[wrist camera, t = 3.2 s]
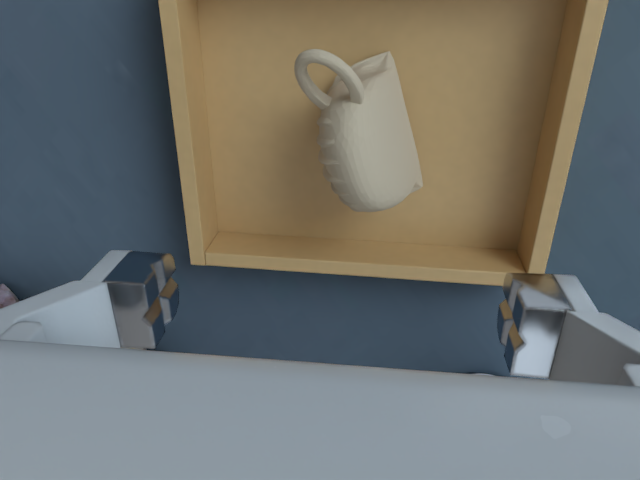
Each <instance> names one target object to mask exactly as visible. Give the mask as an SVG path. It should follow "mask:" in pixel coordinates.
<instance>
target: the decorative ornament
mask: <svg viewBox="0 0 640 480" xmlns="http://www.w3.org/2000/svg"><path fill="white" fill-rule="evenodd" d="M310 63H318V64H321V65H324V66H327V67H328V68H329V69H331V70H332V71H334V72H335V73H336V74H337V76H336V77H335V80H334V83H333V85H332V86H331V87H330V88H329V90H328V92H327V94H325V93H323V92H322V91H321V90H320V89H319V88H318V87H317V86H316V85H315V84H314V82H313V81H312V79H311V78H310V76H309V74H308V70H307V66H308V64H310ZM294 72H295V76H296V79H297V82H298V84H299V86H300V88H301V89H302V91H303V92H304V93H305V94H306V96H307V97H308V98H309V99H310V100H311V101H312V102H313V103H314V104H315V105H316V106H318V107H319V108H320V110H321V117H320V118H319V119H318V120H317V124H318V125H319V135H318V136H317V143H318V144H319V145H320V146H321V149H320V151H319V154H318V159H319V162H321V163H322V164H324V166H323V171H322V172H323V175H324V177H325V178H326V180H327V181H329V182H331V188H332V190H333V191H334V193H335V194H338V196H339V199H340V201H341V202H343V203H344V204H345V205H347V206H349V207H350V209H352V210H353V211H356V212H362V211H363V212H376V211H383V210H386V209H389V208H392V207H394V206H396V205H397V204H399V203H400V202H402V201H403V200H404V199H405V198H406V197H407V196H408V195H409V194H411V193H413V192H415V191H417V190H419V189H420V188H422V187H423V181H422V174H421V169H420V164H419V159H418V154H417V150H416V146H415V141H414V137H413V133H412V130H411V126H410V122H409V118H408V114H407V110H406V106H405V102H404V98H403V93H402V89H401V85H400V81H399V76H398V73H397V69H396V65H395V62H394V59H393V57H392V55H391V53H390V51H388V52H384V53H381V54H378V55H375V56H373V57H370V58H367V59H365V60H362V61H360V62H358V63H355V64H354V65H352V66H351V67H350V66H349V65H347V64H346V63H345V62H344V61H343V60H342V59H340V58H339V57H338V56H336V55H334V54H332V53H330V52H327V51H324V50H321V49H309V50H306V51H303V52H302V53H300V54H299V55H298V57H297V58H296V61H295V65H294Z"/></svg>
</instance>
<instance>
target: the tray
mask: <svg viewBox="0 0 640 480" xmlns="http://www.w3.org/2000/svg"><path fill="white" fill-rule="evenodd" d="M608 1H609V0H158V3H159V11H160V19H161V27H162V35H163V43H164V51H165V59H166V67H167V75H168V84H169V92H170V100H171V108H172V116H173V124H174V132H175V140H176V148H177V156H178V164H179V172H180V180H181V188H182V197H183V205H184V213H185V221H186V229H187V237H188V245H189V253H190V261H191V265H204V266H205V265H209V266H223V267H237V268H252V269H266V270H280V271H294V272H309V273H323V274H337V275H351V276H366V277H380V278H394V279H408V280H423V281H437V282H451V283H465V284H480V285H494V286H503V283H504V279H505V276H506V273H536V274H545V270H546V265H547V261H548V257H549V252H550V248H551V244H552V240H553V235H554V231H555V227H556V223H557V218H558V214H559V210H560V206H561V201H562V197H563V193H564V189H565V184H566V180H567V176H568V171H569V167H570V163H571V159H572V154H573V150H574V146H575V142H576V137H577V133H578V129H579V125H580V120H581V116H582V112H583V108H584V103H585V99H586V95H587V90H588V86H589V82H590V78H591V73H592V69H593V65H594V61H595V56H596V52H597V48H598V44H599V39H600V35H601V31H602V27H603V22H604V18H605V14H606V9H607V5H608ZM309 49H321V50H324V51H327V52H330V53H332V54H334V55H336V56H338V57H339V58H340V59H342V60H343V61H344V62H345V63H346V64H347V65H349V66H350V67H351V66H352V65H354V64H355V63H358V62H360V61H362V60H365V59H367V58H370V57H373V56H375V55H378V54H381V53H384V52H388V51H390V53H391V55H392V57H393V59H394V62H395V65H396V69H397V73H398V76H399V81H400V85H401V89H402V93H403V98H404V102H405V106H406V110H407V114H408V118H409V122H410V126H411V130H412V133H413V137H414V141H415V146H416V150H417V154H418V159H419V164H420V169H421V174H422V181H423V187H422V188H420V189H419V190H417V191H415V192H413V193H411V194H409V195H408V196H407V197H406V198H405V199H404V200H403V201H402V202H400V203H399V204H397V205H396V206H394V207H392V208H389V209H386V210H383V211H376V212H363V211H362V212H356V211H353V210H352V209H350V207H349V206H347V205H345V204H344V203H343V202H341V201H340V199H339V196H338V194H335V193H334V191H333V190H332V188H331V182H329V181H327V180H326V178H325V177H324V175H323V172H322V171H323V166H324V164H322V163H321V162H319V159H318V154H319V151H320V149H321V146H320V145H319V144H318V143H317V136H318V135H319V125H318V124H317V120H318V119H319V118H320V117H321V110H320V108H319V107H318V106H316V105H315V104H314V103H313V102H312V101H311V100H310V99H309V98H308V97H307V96H306V94H305V93H304V92H303V91H302V89H301V88H300V86H299V84H298V82H297V79H296V76H295V72H294V65H295V61H296V58H297V57H298V55H299V54H300V53H302V52H303V51H306V50H309ZM307 70H308V74H309V76H310V78H311V79H312V81H313V82H314V84H315V85H316V86H317V87H318V88H319V89H320V90H321V91H322V92H323V93H325V94H327V92H328V90H329V88H330V87H331V86H332V85H333V83H334V80H335V77H336V76H337V74H336V73H335V72H334V71H332V70H331V69H329V68H328V67H327V66H324V65H321V64H318V63H310V64H308V66H307Z"/></svg>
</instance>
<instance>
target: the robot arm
mask: <svg viewBox="0 0 640 480" xmlns="http://www.w3.org/2000/svg"><path fill="white" fill-rule="evenodd" d="M175 270H176V269H175V263H174V258H173V257H172V255H171V254H167V253H153V252H140V251H131V250H110V251H109V252H108V253H107V254H106V255H105V256H104V257H103V258H102V259H101V260H100V261H99V262H98V263H97V264H96V265H95V266H94V267H93V268H92V269H91V270H90V271H89V272H88V273H87V274H86V275H85V276H84V277H83V278H82V279H81V280H80V281H72V282H69V283H66V284H64V285H61V286H59V287H56V288H53V289H51V290H48V291H45V292H43V293H40V294H38V295H35V296H32V297H30V298H27V299H25V300H22V301H19V302H17V303H14V304H11V305H9V306H6V307H4V308H1V309H0V480H640V331H638V330H636V329H634V328H632V327H630V326H629V325H627V324H625V323H623V322H621V321H619V320H618V319H616V318H614V317H612V316H610V315H609V314H607V313H599V312H598V310H597V308H596V307H595V305H594V304H593V302H592V301H591V299H590V297H589V296H588V294H587V293H586V291H585V289H584V288H583V286H582V285H581V283H580V281H579V280H578V278H577V277H576V276H574V275H566V274H536V273H506V276H505V279H504V283H503V288H502V289H503V292H504V295H505V298H506V299H505V300H504V301H503V302H502V303H501V304H500V305H499V311H498V321H497V329H498V336H499V340H500V343H501V344H502V345H504V346H505V347H506V349H505V354H504V357H505V360H506V363H507V366H508V369H509V373H510V375H516V376H526V377H536V378H546V379H549V380H544V379H530V378H517V377H503V376H490V375H476V374H462V373H449V372H435V371H422V370H408V369H395V368H381V367H367V366H354V365H340V364H327V363H313V362H300V361H287V360H273V359H260V358H246V357H233V356H219V355H206V354H192V353H179V352H165V351H152V350H138V349H125V348H121V347H127V348H149V349H155V348H156V346H157V345H158V343H159V341H160V340H161V338H162V337H163V335H164V333H165V326H164V325H165V324H167V323H169V322H171V321H172V320H173V318H174V316H175V315H176V312H177V308H178V304H179V289H178V285H177V283H176V282H175V281H174V280H173V279H172V278H171V276H172V274H173V273H174V271H175Z"/></svg>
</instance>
